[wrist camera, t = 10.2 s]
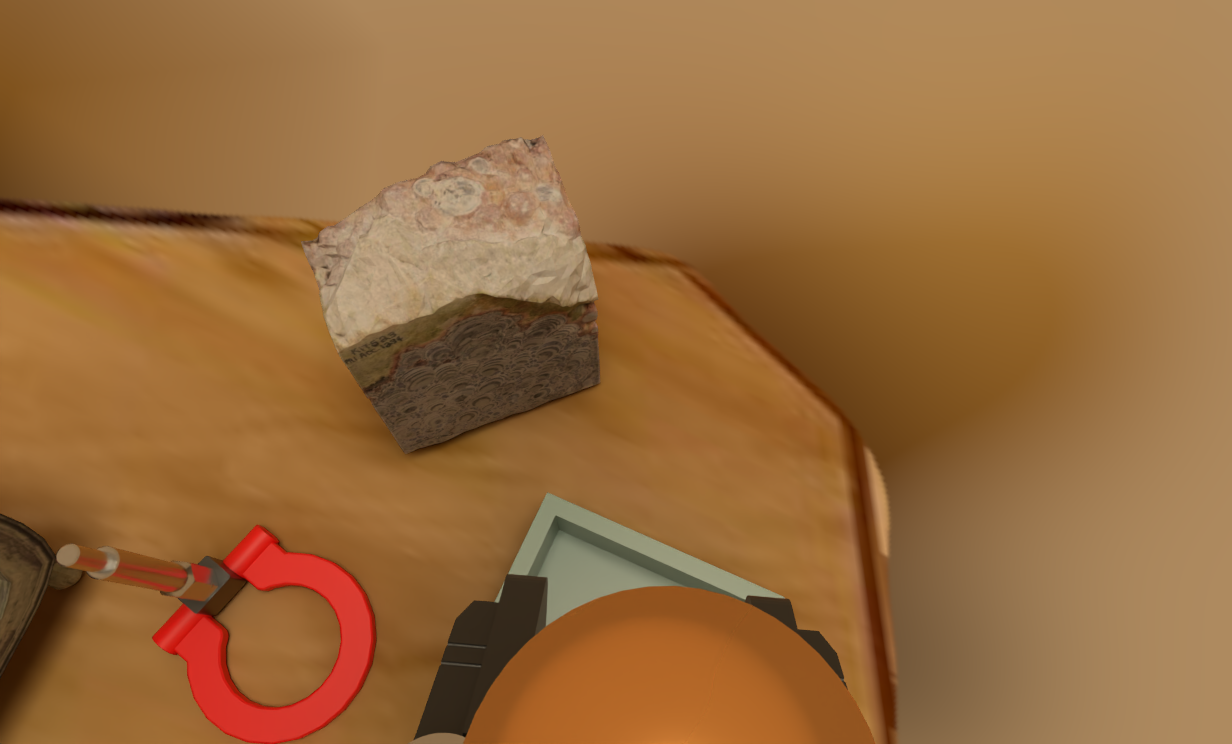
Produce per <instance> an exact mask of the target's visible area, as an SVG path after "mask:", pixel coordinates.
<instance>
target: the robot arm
mask: <svg viewBox="0 0 1232 744" xmlns="http://www.w3.org/2000/svg"><path fill="white" fill-rule="evenodd" d="M547 594H548V578H547V577H538V576H526V575H515V574H507V576H506V579H505V582H504V586H503V589H502V593H501V596H500V600H499V603H497V602H486V601H475V600H474V601H473V602H472V603H471V604H470V605H469V606H468V607H467V608H466V609H465V610H464V611H463V612H462V613H461V614H460V615H459V616H458V617H457V618H456V620H455V623H454V626H453V629H452V632H451V634H450V637H449V640H448V645H447V646H446V649H445V652H444V655H443V658H442V661H441V665H440V666H439V669H438V672H437V675H436V678H435V681H434V684H433V687H432V690H431V692H430V695H429V698H428V701H427V704H426V707H425V710H424V713H423V716H422V719H421V721H420V724H419V727H418V730H417V733H416V735H415V738H414V740H413V741H412V742H410V743H408V744H463V742H464V740H465V737H466V735H467V733H468V730H469V728H470V725H471V723H472V721H473V718H474V716H475V713H476V711H477V710H478V708H479V706H480V704H481V703H482V701H483V699H484V697H485V695H486V694H487V692H488V690H489V688H490V687H491V685H492V684H493V682H494V681H495V680H496V678H497V677H498V676H499V674H500V673H501V671H502V670H503V669H504V667H505V666H506V665H507V663H508V662H509V661H510V660H511V659H512V658H513V657H514V656H515V655H516V654H517V653H518V651H519V650H520V649H521V648H522V647H523V646H524V645H525V644H526V643H527V642H528V641H529V640H530V639H532V638H533V637H534V636H535V635H536V634H538V633H539V632H540V631H541V630H543V629H544V628H545V627H546V615H547ZM745 603H748V604H750V605H753V606H754V607H756V608H758V609H760V610H762V611H764V612H765V613H767V614H769V615H771V616H773V617H774V618H776V619H777V620H779V621H780V622H782V623H783V624H784V625H786V626H787V627H789V628H790V629H791V630H793V631H794V632H796V633H797V634H798V635H799V636H800V637H802V638H803V639H804V640H805V641H806V642H807V643H808V644H809V645H810V646H811V647H812V648H813V649H815V650H816V651H817V652H818V653H819V654H820V655H821V656H822V658H823V659H824V660H825V661H826V662H827V663H828V665H829V666H830V667H831V668H832V669H833V671H834V672H835V673H836V674H837V675H838V676H839V678H840V679H841V681H842V682H843V684H844V685H845V687H846V688H847V686H846V682H844V676H843V672H842V669H841V666H840V662H839V659H838V656H837V653H836V652H835V651H834V649H833V648H832V647H831V646H830V645H829V643H828V642H827V641H826V640H825V638H824V637H823V636H822V635H821V634H820V632H819V631H810V630H799V629H797V625H796V621H795V617H794V613H793V609H792V605H791V602H790V600H789V599H784V598H773V597H761V596H750V595H748V596H747V597H746V600H745ZM847 690H848V689H847Z"/></svg>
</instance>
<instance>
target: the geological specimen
mask: <svg viewBox="0 0 1232 744" xmlns="http://www.w3.org/2000/svg"><path fill="white" fill-rule="evenodd" d="M301 243H302V246H303V249H304V252H305V255H306V257H307V260H308V262H309V264H310V266H311V268H312V270H313V272H314V274H315V278H316V281H317V284H318V287H319V290H320V294H319V295H320V300H321V305H322V309H323V316H324V318H325V321H326V324H327V327H328V330H329V333H330V335H331V338H332V340H333V342H334V345H335V347H336V350H337V352H338V354H339V355H340V357H341V359H342V360H343V362H344V363H345V365H346V366H347V367H348V369H349V370H350V372H351V373H352V375H353V376H354V378H355V380H356V381H357V383H358V384H359V386H360V387H361V389H362V390H363V392H364V393H365V395H366V397H367V398H369V399H370V400H371V403H372V405H373V406H374V408H375V409H376V411H377V412H378V414H379V415H380V417H381V418H382V420H383V421H384V423H385V424H386V426H387V427H388V429H389V430H390V432H391V433H392V435H393V436H394V438H395V439H396V441H397V442H398V444H399V446H400V447H401V449H402V450H403V452H404V453H405V454H406V453H409V452H412V451H414V450H417V449H419V448H423V447H427V446H430V445H433V444H437V443H442V442H444V441H447V440H449V439H451V438H453V437H455V436H457V435H459V434H461V433H463V432H465V431H468V430H471V429H474V428H477V427H479V426H481V425H484V424H487V423H490V422H493V421H496V420H499V419H503V418H505V417H507V416H510V415H512V414H515V413H520V412H524V411H527V410H530V409H534V408H535V407H537V406H539V405H541V404H544V403H546V402H548V401H550V400H554V399H557V398H561V397H564V396H567V395H569V394H572V393H575V392H577V391H579V390H581V389H584V388H588V387H591V386H594V385H596V384H599V383H600V366H599V348H598V326H597V324H596V322H595V320H596V319H597V309H596V306H595V304H594V301H595V300H598V295H597V290H596V286H595V282H594V278H593V273H592V268H591V263H590V260H589V257H588V254H587V251H586V246H585V243H584V241H583V239H582V237H581V233H580V227H579V222H578V218H577V216H576V214H575V212H574V210H573V208H572V206H571V205H570V202H569V200H568V197H567V195H566V192H565V189H564V186H563V184H562V181H561V178H560V175H559V172H558V171H557V169H556V167H555V164H554V162H553V159H552V156H551V152H550V150H549V148H548V146H547V143H546V141H545V139H544V137H543V136H541V137H539V138H536V139H533V140H524V139H522V138H517V139H510V140H504V141H502V142H501V143H500V144H496V145H491V146H487V147H486V148H484V149H483V150H482V151H481V152H480V153H478V154H476V155H473V156H471V157H468V158H465V159H463V160H461V161H458V162H456V163H455V162H444V161H441V162H438V163H437V164H434V165H433V166H430V168H429V169H428V171H427V172H426V174H424V175H422V176H420V177H419V178H416V179H411V180H406V181H402V182H397V183H395V184H393V185H390V186H388V187H386V188H384V189H383V190H382V191H381V192H380V193H379V194H378V195H377V196H376V197H375V198H374V199H372V200H371V201H370V202H368V203H366V204H365V205H363V206H362V207H360V208H359V209H357V210H356V211H354V212H353V213H352V214H350V215H349V216H348V217H346V218H345V219H344V220H342V221H340V222H339V223H337V224H336V225H335V226H328V227H326V228H325V229H324V230H322V231H321V232H319V235H318V237H317V238H316V239H314V240H313V241H301Z"/></svg>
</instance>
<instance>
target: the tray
mask: <svg viewBox="0 0 1232 744" xmlns="http://www.w3.org/2000/svg"><path fill="white" fill-rule="evenodd" d="M508 574H515V575H526V576H538V577H547V578H548V594H547V615H546V626H547V625H549V624H550V623H552V622H553V621H555V620H556V619H558V618H560V617H561V616H563V615H564V614H566V613H568V612H569V611H571V610H572V609H575V608H577V607H579V606H581V605H583V604H585V603H588V602H590V601H592V600H594V599H596V598H599V597H603V596H606V595H609V594H613V593H616V592H619V591H623V590H629V589H635V588H641V587H648V586H681V587H690V588H699V589H704V590H708V591H712V592H716V593H720V594H724V595H727V596H730V597H733V598H735V599H738V600H740V601H743V602H745V600H746V597H747V596H748V595H750V596H761V597H773V598H785V597H783V596H781V595H778V594H776V593H774V592H771V591H769V590H767V589H765V588H762V587H760V586H758V585H756V584H753V583H751V582H749V581H747V580H744V579H742V578H740V577H738V576H735V575H733V574H731V573H728V572H726V571H724V570H722V569H719V568H717V567H715V566H713V565H710V564H708V563H706V562H704V561H701V560H699V559H697V558H695V557H692V556H690V555H688V554H686V553H683V552H681V551H679V550H676V549H674V548H672V547H670V546H667V545H665V544H663V543H661V542H658V541H656V540H654V539H652V538H649V537H647V536H645V535H643V534H640V533H638V532H636V531H633V530H631V529H629V528H627V527H624V526H622V525H620V524H618V523H615V522H613V521H611V520H609V519H606V518H604V517H602V516H600V515H597V514H595V513H593V512H590V511H588V510H586V509H584V508H581V507H579V506H577V505H575V504H572V503H570V502H568V501H566V500H563V499H561V498H559V497H557V496H554V495H552V494H550V493H547V494H546V496H545V498H544V500H543V502H542V504H541V507H540V509H539V511H538V513H537V515H536V517H535V519H534V521H533V523H532V525H531V527H530V529H529V531H528V534H527V536H526V538H525V540H524V542H523V544H522V546H521V548H520V550H519V552H518V554H517V556H516V558H515V561H514V563H513V565H512V567H511V569H510V571H509V573H508ZM504 582H505V581H504ZM503 586H504V583H503V585H502V588H501V590H500V592H499V594H498V596H497V598H496V600H495V602H497V603H499V600H500V596H501V593H502V589H503Z"/></svg>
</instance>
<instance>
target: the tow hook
mask: <svg viewBox="0 0 1232 744" xmlns="http://www.w3.org/2000/svg"><path fill="white" fill-rule="evenodd" d="M278 543H279V541H278V539H277V538H276V537H275V536H274V535H273V534H271V533H270V532H269V531H268V530H266V529H265V528H263V527H262V526H260V525H256V526H255V527H254V528H253V529H252V530H251V531H250V532H249V533H248V535H247V536H246V537H245V538H244V539H243V540H242V541H241V542H240V543H239V544H238V545H237V546H236V547H235V549H234V550H233V551H232V552H231V553H230V554H229V555H228V556H227V557H226V558H225V559H224V560H223V561H222V560H219V559H216V558H212V557H209V556H206V557H204V558H203V559H202V560H201V562H200V563H199V564H198V565H197V564H193V563H188V562H180V561H171V562H168V561H164V560H160V559H156V558H152V557H148V556H144V555H140V554H137V553H133V552H129V551H125V550H121V549H117V548H113V547H109V546H103V547H99V548H97V549H92V548H88V547H84V546H80V545H76V544H66V545H64V546H62V547H61V548H60V549H59V550H58V552H57V554H56V561H57V563H58V564H59V565H60V566H63V567H68V568H73V569H78V570H83V571H86V572H87V574H88V575H89V576H90V577H91V578H93V579H97V580H103V581H108V582H114V583H119V584H125V585H130V586H136V587H141V588H147V589H152V590H158V591H160V593H161V595H165V596H170V597H176V598H178V599H179V600H180V601H181V602H183V604H182V606H181V607H180V608H179V609H178V610H177V611H176V612H175V613H174V614H173V615H172V616H171V617H170V618H169V620H168V621H167V622H166V623H165V624H164V625H163V626H162V627H161V628H160V629H159V630H158V631H157V632H156V634H155V635H154V636H153V637H152V639H153V640H154V642H155V643H156V644H157V645H158V646H159V647H160V648H162V649H163V650H165V651H166V652H168V653H170V654H173V655H177V654H179V655H180V656H181V657H182V658H183V659H184V660H185V661H186V662H187V676H188V679H189V683H190V687H191V690H192V694H193V697H194V699H195V701H196V702H197V704H198V706H199V707H200V709H201V710H202V712H203V713H204V715H205V716H206V718H207V719H208V720H209V721H210V722H212V723H213V724H214V725H215V726H217V727H218V728H219V729H220V730H221V731H223V732H224V733H225V734H228V735H230V736H233V737H235V738H238V739H240V740H243V741H245V742H249V743H262V744H276V743H281V742H286V741H291V740H296V739H300V738H303V737H305V736H307V735H309V734H311V733H313V732H315V731H317V730H319V729H321V728H323V727H325V726H327V725H328V724H329V723H330V722H331V721H333V720H334V719H335V718H336V717H337V716H339V715H340V714H341V713H342V712H343V711H344V710H346V708H347V707H348V706H349V704H350V703H351V702H352V700H353V699H354V698H355V696H356V695H357V694H358V692H359V691H360V690H361V688H362V686H363V684H364V682H365V680H366V677H367V675H368V673H369V670H370V668H371V666H372V662H373V656H374V651H375V645H376V629H375V617H374V613H373V611H372V608H371V605H370V602H369V600H368V597H367V594H366V593H365V592H364V590H363V589H362V588H361V586H360V585H359V583H358V582H357V581H356V579H355V578H354V577H353V576H352V575H351V574H349V573H348V572H347V571H345V570H344V569H343V568H341V567H340V566H339V565H337V564H336V563H334V562H331V561H328V560H326V559H323V558H320V557H318V556H315V555H312V554H302V553H290V552H289V553H288V552H286V551H285V550H284V549H283V548H282V547H280V546H279V545H278ZM247 580H248V581H249V582H250V583H251V584H252V585H253V586H254V587H256V588H257V589H258V590H262V591H270V590H272V589H274V588H279V587H284V586H290V585H292V586H304V587H307V588H309V589H312V590H315V591H316V592H317V593H319V594H320V595H321V596H323V597H324V598H325V599H326V600H327V601H328V602H329V604H330V605H331V606H332V608H333V609H334V611H335V613H336V616H337V619H338V621H339V624H340V635H341V644H340V649H339V654H338V658H337V660H336V663H335V665H334V667H333V669H332V672H331V673H330V675H329V676H328V677H327V679H326V680H325V681H324V683H323V684H322V685H321V686H320V687H319V688H318V689H317V690H316V691H314V692H313V693H312V694H311V695H310V696H308V697H307V698H305V699H303V700H301V701H299V702H297V703H295V704H293V705H289V706H284V707H268V706H263V705H260V704H258V703H255V702H252V701H250V700H249V699H248V698H246V697H245V696H244V695H243V694H241V693H240V692H239V691H238V689H237V688H236V686H235V685H234V683H233V682H232V680H231V679H230V675H229V672H228V669H227V665H226V645H227V641H228V637H229V635H228V632H227V630H226V629H225V628H224V627H223V626H222V625H221V624H220V623H218V622H217V621H216V620H215V619H214V618H213V617H212V616H215V615H217V614H218V613H219V612H220V611H221V610H222V608H223V607H224V606H225V605H226V604H227V603H228V602H229V601H230V600H231V599H232V597H233V596H234V595H235V594H236V593H237V592H238V591H239V590H240V589H241V588H242V586H243V585H244V584H245V583H246V582H247Z"/></svg>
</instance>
